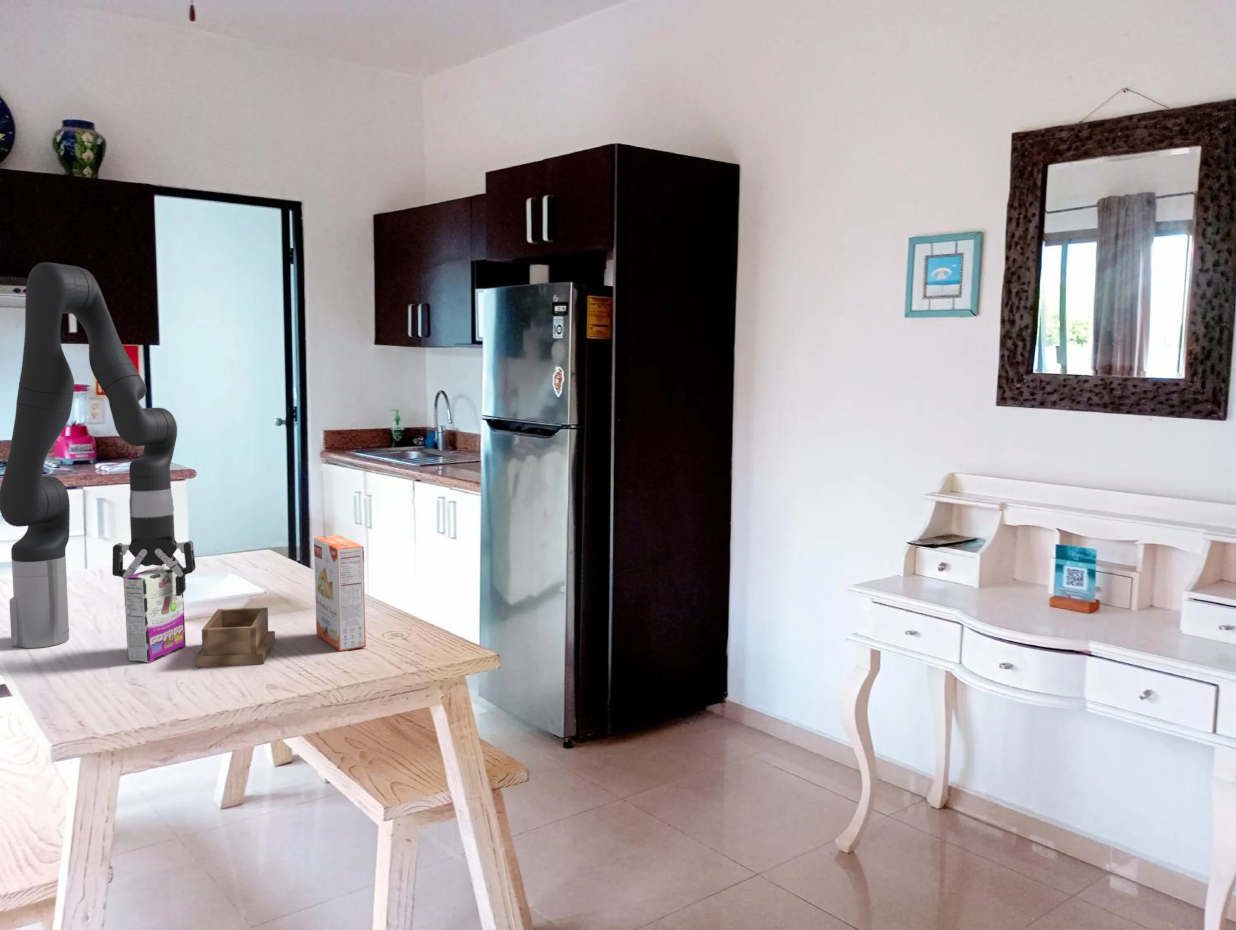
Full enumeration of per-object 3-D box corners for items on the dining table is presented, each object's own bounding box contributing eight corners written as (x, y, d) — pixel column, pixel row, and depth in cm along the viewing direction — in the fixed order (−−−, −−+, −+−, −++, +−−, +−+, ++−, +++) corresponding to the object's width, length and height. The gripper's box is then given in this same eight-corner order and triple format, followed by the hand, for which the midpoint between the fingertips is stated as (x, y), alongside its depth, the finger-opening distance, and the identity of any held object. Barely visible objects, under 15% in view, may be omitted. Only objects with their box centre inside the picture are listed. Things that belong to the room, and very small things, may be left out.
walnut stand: (195, 667, 179) (194, 630, 179) (212, 643, 195) (211, 609, 194) (263, 663, 182) (262, 627, 181) (275, 640, 197) (274, 606, 197)
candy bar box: (164, 645, 193) (161, 564, 191) (186, 647, 192) (184, 565, 190) (125, 661, 182) (122, 576, 181) (148, 663, 181) (145, 577, 180)
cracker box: (314, 636, 201) (312, 536, 199) (342, 631, 205) (341, 534, 203) (337, 652, 190) (335, 547, 188) (366, 647, 193) (365, 544, 191)
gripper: (105, 516, 179) (109, 602, 181) (187, 514, 182) (191, 598, 184) (117, 511, 187) (121, 593, 188) (195, 508, 190) (199, 590, 191)
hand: (155, 596), depth 186 cm, fingers open, 8 cm apart
